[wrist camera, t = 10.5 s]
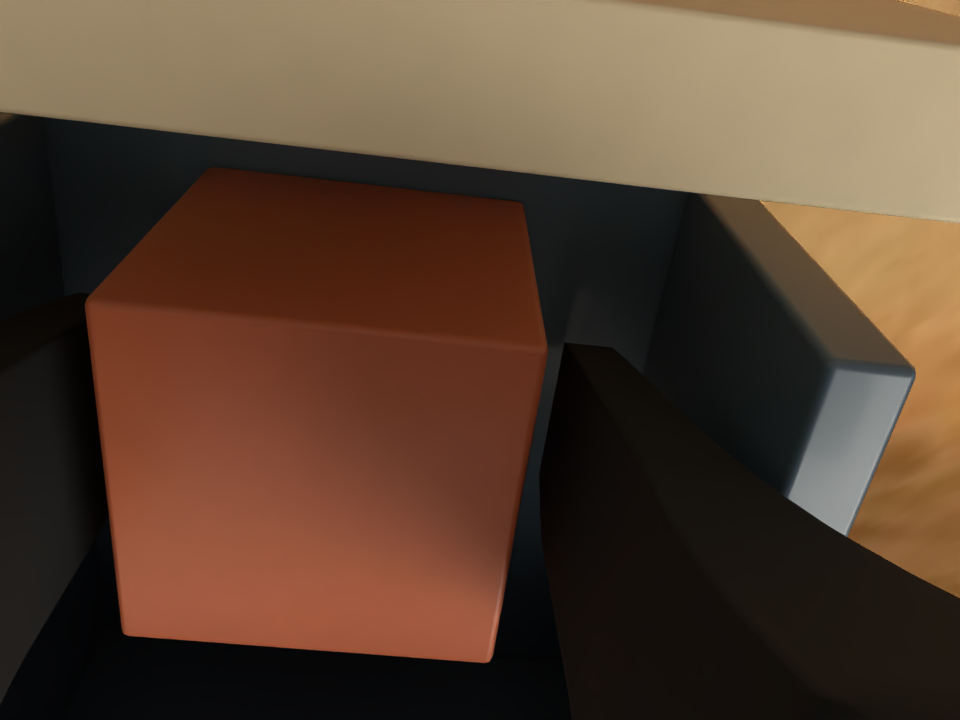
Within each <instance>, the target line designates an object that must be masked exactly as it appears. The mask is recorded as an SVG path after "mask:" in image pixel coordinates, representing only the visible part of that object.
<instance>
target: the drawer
mask: <svg viewBox="0 0 960 720" xmlns="http://www.w3.org/2000/svg"><path fill="white" fill-rule="evenodd" d="M211 167H219V168H228V169H236V170H245V171H254V172H263V173H272V174H280V175H289V176H298V177H307V178H315V179H324V180H333V181H342V182H350V183H359V184H368V185H377V186H386V187H394V188H403V189H412V190H421V191H429V192H438V193H447V194H456V195H464V196H473V197H482V198H491V199H500V200H508V201H517V202H520V203H522V204H523V207H524V212H525V218H526V224H527V230H528V236H529V241H530V247H531V253H532V259H533V265H534V270H535V276H536V282H537V288H538V294H539V299H540V305H541V311H542V317H543V323H544V328H545V334H546V340H547V346H548V357H547V363H546V368H545V373H544V379H543V384H542V390H541V395H540V401H539V406H538V412H537V417H536V423H535V428H534V434H533V439H532V445H531V450H530V456H529V461H528V467H527V472H526V477H525V483H524V488H523V494H522V499H521V505H520V510H519V516H518V521H517V527H516V532H515V538H514V543H513V549H512V554H511V560H510V565H509V570H508V576H507V581H506V587H505V592H504V598H503V603H502V609H501V614H500V620H499V625H498V631H497V636H496V642H495V647H494V653H493V656H492V658H491V660H490V661H489V662H487V663H478V662H465V661H452V660H439V659H426V658H412V657H399V656H386V655H373V654H360V653H347V652H334V651H320V650H307V649H294V648H281V647H268V646H255V645H241V644H228V643H215V642H202V641H189V640H176V639H163V638H149V637H136V636H127V635H125V634H124V633H123V632H122V626H121V617H120V609H119V600H118V591H117V582H116V574H115V565H114V556H113V548H112V539H111V530H110V521H109V516H108V518H107V519H106V521H105V523H104V525H103V526H102V528H101V530H100V531H99V533H98V535H97V537H96V538H95V540H94V542H93V543H92V545H91V547H90V549H89V550H88V552H87V554H86V555H85V557H84V559H83V560H82V562H81V564H80V565H79V567H78V569H77V570H76V572H75V574H74V575H73V577H72V579H71V580H70V582H69V584H68V585H67V587H66V589H65V590H64V592H63V594H62V595H61V597H60V599H59V600H58V602H57V604H56V605H55V607H54V609H53V610H52V612H51V614H50V615H49V617H48V619H47V620H46V622H45V624H44V625H43V627H42V629H41V630H40V632H39V634H38V635H37V637H36V639H35V641H34V642H33V644H32V646H31V647H30V649H29V651H28V652H27V654H26V656H25V658H24V660H23V661H22V663H21V665H20V667H19V669H18V671H17V673H16V674H15V676H14V678H13V680H12V682H11V684H10V686H9V688H8V690H7V692H6V694H5V696H4V698H3V700H2V702H1V705H0V720H572V719H571V712H570V704H569V696H568V690H567V684H566V678H565V673H564V667H563V661H562V656H561V650H560V644H559V639H558V633H557V628H556V622H555V616H554V611H553V605H552V599H551V594H550V588H549V582H548V576H547V570H546V565H545V559H544V553H543V546H542V540H541V519H540V491H539V471H540V466H541V461H542V456H543V451H544V445H545V440H546V435H547V430H548V425H549V419H550V414H551V409H552V404H553V399H554V393H555V388H556V383H557V378H558V373H559V367H560V362H561V357H562V352H563V347H564V342H565V343H574V344H584V345H594V346H603V347H612V348H614V349H615V350H616V351H617V352H619V353H620V354H621V355H622V356H623V357H624V358H625V359H626V360H627V361H629V362H630V363H631V364H632V365H633V366H634V367H635V368H636V369H637V370H638V371H639V372H640V373H641V374H642V375H643V376H644V377H645V378H646V379H647V380H648V381H649V382H650V383H651V384H652V385H653V386H654V387H655V388H657V389H658V390H659V391H660V392H661V393H662V394H663V395H664V396H665V397H666V398H667V399H668V400H669V401H670V402H671V403H672V404H673V405H674V406H675V407H676V408H678V409H679V410H680V411H681V412H682V413H683V414H684V415H685V416H686V417H687V418H688V419H689V420H690V421H692V422H693V423H694V424H695V425H696V426H697V427H698V428H699V429H700V430H702V431H703V432H704V433H705V434H706V435H707V436H709V437H710V438H711V439H712V440H713V441H714V442H715V443H717V444H718V445H719V446H720V447H721V448H723V449H724V450H725V451H726V452H728V453H729V454H730V455H731V456H732V457H734V458H735V459H736V460H737V461H739V462H740V463H741V464H742V465H744V466H745V467H746V468H747V469H749V470H750V471H751V472H752V473H754V474H755V475H756V476H757V477H759V478H760V479H761V480H763V481H764V482H765V483H767V484H768V485H770V486H771V487H772V488H774V489H775V490H776V491H778V492H779V493H781V494H782V495H784V496H785V497H786V498H788V499H789V500H791V501H792V502H794V503H795V504H797V505H798V506H800V507H801V508H803V509H804V510H806V511H807V512H809V513H810V514H812V515H813V516H815V517H816V518H817V519H819V520H820V521H822V522H823V523H825V524H827V525H828V526H830V527H831V528H833V529H835V530H836V531H838V532H839V533H841V534H843V535H844V536H846V537H848V534H849V532H850V530H851V527H852V525H853V523H854V520H855V518H856V516H857V513H858V511H859V509H860V506H861V504H862V502H863V499H864V497H865V494H866V492H867V490H868V487H869V485H870V483H871V480H872V478H873V476H874V473H875V471H876V469H877V466H878V464H879V462H880V459H881V457H882V455H883V452H884V450H885V448H886V445H887V443H888V441H889V438H890V436H891V434H892V431H893V429H894V427H895V424H896V422H897V420H898V417H899V415H900V413H901V410H902V408H903V406H904V403H905V401H906V399H907V396H908V394H909V392H910V389H911V387H912V385H913V382H914V380H915V375H916V371H915V368H914V367H913V366H912V365H911V364H910V362H909V361H908V360H907V359H906V358H905V357H904V356H903V355H902V354H901V353H900V352H899V351H898V350H897V348H896V347H895V346H894V345H893V344H892V343H891V342H890V341H889V340H888V339H887V338H886V337H885V336H884V334H883V333H882V332H881V331H880V330H879V329H878V328H877V327H876V326H875V325H874V324H873V323H872V322H871V321H870V319H869V318H868V317H867V316H866V315H865V314H864V313H863V312H862V311H861V310H860V309H859V308H858V307H857V305H856V304H855V303H854V302H853V301H852V300H851V299H850V298H849V297H848V296H847V295H846V294H845V293H844V292H843V290H842V289H841V288H840V287H839V286H838V285H837V284H836V283H835V282H834V281H833V280H832V279H831V278H830V276H829V275H828V274H827V273H826V272H825V271H824V270H823V269H822V268H821V267H820V266H819V265H818V264H817V262H816V261H815V260H814V259H813V258H812V257H811V256H810V255H809V254H808V253H807V252H806V251H805V250H804V249H803V247H802V246H801V245H800V244H799V243H798V242H797V241H796V240H795V239H794V238H793V237H792V236H791V235H790V233H789V232H788V231H787V230H786V229H785V228H784V227H783V226H782V225H781V224H780V223H779V222H778V221H777V219H776V218H775V217H774V216H773V215H772V214H771V213H770V212H769V211H768V210H767V209H766V208H765V207H764V206H763V204H762V203H761V202H760V201H759V200H762V201H770V202H779V203H787V204H796V205H805V206H813V207H822V208H830V209H839V210H847V211H856V212H865V213H873V214H882V215H890V216H899V217H908V218H916V219H925V220H933V221H942V222H950V223H959V224H960V17H958V16H954V15H950V14H946V13H942V12H939V11H935V10H931V9H927V8H923V7H919V6H916V5H912V4H908V3H904V2H900V1H897V0H0V320H2V319H4V318H7V317H9V316H12V315H14V314H17V313H19V312H22V311H24V310H27V309H29V308H32V307H35V306H37V305H40V304H43V303H45V302H48V301H51V300H54V299H57V298H60V297H63V296H67V295H71V294H75V293H79V292H80V293H89V294H91V293H92V292H93V291H94V290H95V289H96V288H97V287H98V286H99V285H100V284H101V283H102V282H103V281H104V280H105V278H106V277H107V276H108V275H109V274H110V273H111V272H112V271H113V270H114V269H115V268H116V267H117V266H118V265H119V263H120V262H121V261H122V260H123V259H124V258H125V257H126V256H127V255H128V254H129V253H130V252H131V251H132V249H133V248H134V247H135V246H136V245H137V244H138V243H139V242H140V241H141V240H142V239H143V238H144V237H145V236H146V234H147V233H148V232H149V231H150V230H151V229H152V228H153V227H154V226H155V225H156V224H157V223H158V222H159V221H160V219H161V218H162V217H163V216H164V215H165V214H166V213H167V212H168V211H169V210H170V209H171V208H172V207H173V206H174V204H175V203H176V202H177V201H178V200H179V199H180V198H181V197H182V196H183V195H184V194H185V193H186V192H187V190H188V189H189V188H190V187H191V186H192V185H193V184H194V183H195V182H196V181H197V180H198V179H199V178H200V177H201V175H202V174H203V173H204V172H205V171H206V170H207V169H208V168H211Z"/></svg>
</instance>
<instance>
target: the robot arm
mask: <svg viewBox="0 0 960 720" xmlns="http://www.w3.org/2000/svg"><path fill="white" fill-rule="evenodd" d="M90 295H91V294H89V293H80V292H79V293H75V294H71V295H67V296H63V297H60V298H57V299H54V300H51V301H48V302H45V303H43V304H40V305H37V306H35V307H32V308H29V309H27V310H24V311H22V312H19V313H17V314H14V315H12V316H9V317H7V318H4V319H2V320H0V705H1V702H2V700H3V698H4V696H5V694H6V692H7V690H8V688H9V686H10V684H11V682H12V680H13V678H14V676H15V674H16V673H17V671H18V669H19V667H20V665H21V663H22V661H23V660H24V658H25V656H26V654H27V652H28V651H29V649H30V647H31V646H32V644H33V642H34V641H35V639H36V637H37V635H38V634H39V632H40V630H41V629H42V627H43V625H44V624H45V622H46V620H47V619H48V617H49V615H50V614H51V612H52V610H53V609H54V607H55V605H56V604H57V602H58V600H59V599H60V597H61V595H62V594H63V592H64V590H65V589H66V587H67V585H68V584H69V582H70V580H71V579H72V577H73V575H74V574H75V572H76V570H77V569H78V567H79V565H80V564H81V562H82V560H83V559H84V557H85V555H86V554H87V552H88V550H89V549H90V547H91V545H92V543H93V542H94V540H95V538H96V537H97V535H98V533H99V531H100V530H101V528H102V526H103V525H104V523H105V521H106V519H107V518H108V516H109V513H108V504H107V495H106V486H105V478H104V469H103V460H102V452H101V443H100V434H99V425H98V417H97V408H96V399H95V391H94V382H93V373H92V364H91V356H90V347H89V338H88V329H87V321H86V312H85V302H86V300H87V298H88V297H89V296H90ZM539 491H540V519H541V540H542V546H543V553H544V559H545V565H546V570H547V576H548V582H549V588H550V594H551V599H552V605H553V611H554V616H555V622H556V628H557V633H558V639H559V644H560V650H561V656H562V661H563V667H564V673H565V678H566V684H567V690H568V696H569V704H570V712H571V719H572V720H960V598H958V597H956V596H954V595H952V594H950V593H948V592H946V591H944V590H942V589H940V588H938V587H936V586H934V585H932V584H930V583H928V582H926V581H924V580H922V579H921V578H919V577H917V576H915V575H913V574H911V573H909V572H907V571H906V570H904V569H902V568H900V567H898V566H897V565H895V564H893V563H891V562H890V561H888V560H886V559H884V558H882V557H881V556H879V555H877V554H875V553H874V552H872V551H870V550H868V549H867V548H865V547H863V546H861V545H859V544H858V543H856V542H854V541H853V540H851V539H849V538H848V537H846V536H844V535H843V534H841V533H839V532H838V531H836V530H835V529H833V528H831V527H830V526H828V525H827V524H825V523H823V522H822V521H820V520H819V519H817V518H816V517H815V516H813V515H812V514H810V513H809V512H807V511H806V510H804V509H803V508H801V507H800V506H798V505H797V504H795V503H794V502H792V501H791V500H789V499H788V498H786V497H785V496H784V495H782V494H781V493H779V492H778V491H776V490H775V489H774V488H772V487H771V486H770V485H768V484H767V483H765V482H764V481H763V480H761V479H760V478H759V477H757V476H756V475H755V474H754V473H752V472H751V471H750V470H749V469H747V468H746V467H745V466H744V465H742V464H741V463H740V462H739V461H737V460H736V459H735V458H734V457H732V456H731V455H730V454H729V453H728V452H726V451H725V450H724V449H723V448H721V447H720V446H719V445H718V444H717V443H715V442H714V441H713V440H712V439H711V438H710V437H709V436H707V435H706V434H705V433H704V432H703V431H702V430H700V429H699V428H698V427H697V426H696V425H695V424H694V423H693V422H692V421H690V420H689V419H688V418H687V417H686V416H685V415H684V414H683V413H682V412H681V411H680V410H679V409H678V408H676V407H675V406H674V405H673V404H672V403H671V402H670V401H669V400H668V399H667V398H666V397H665V396H664V395H663V394H662V393H661V392H660V391H659V390H658V389H657V388H655V387H654V386H653V385H652V384H651V383H650V382H649V381H648V380H647V379H646V378H645V377H644V376H643V375H642V374H641V373H640V372H639V371H638V370H637V369H636V368H635V367H634V366H633V365H632V364H631V363H630V362H629V361H627V360H626V359H625V358H624V357H623V356H622V355H621V354H620V353H619V352H617V351H616V350H615V349H614V348H612V347H603V346H594V345H584V344H574V343H565V342H564V347H563V352H562V357H561V362H560V367H559V373H558V378H557V383H556V388H555V393H554V399H553V404H552V409H551V414H550V419H549V425H548V430H547V435H546V440H545V445H544V451H543V456H542V461H541V466H540V471H539Z"/></svg>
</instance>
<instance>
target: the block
mask: <svg viewBox="0 0 960 720" xmlns="http://www.w3.org/2000/svg"><path fill="white" fill-rule="evenodd" d="M85 312H86V321H87V329H88V338H89V347H90V356H91V364H92V373H93V382H94V391H95V399H96V408H97V417H98V425H99V434H100V443H101V452H102V460H103V469H104V478H105V486H106V495H107V504H108V513H109V521H110V530H111V539H112V548H113V556H114V565H115V574H116V582H117V591H118V600H119V609H120V617H121V626H122V632H123V633H124V634H125V635H127V636H136V637H149V638H163V639H176V640H189V641H202V642H215V643H228V644H241V645H255V646H268V647H281V648H294V649H307V650H320V651H334V652H347V653H360V654H373V655H386V656H399V657H412V658H426V659H439V660H452V661H465V662H478V663H487V662H489V661H490V660H491V658H492V656H493V653H494V647H495V642H496V636H497V631H498V625H499V620H500V614H501V609H502V603H503V598H504V592H505V587H506V581H507V576H508V570H509V565H510V560H511V554H512V549H513V543H514V538H515V532H516V527H517V521H518V516H519V510H520V505H521V499H522V494H523V488H524V483H525V477H526V472H527V467H528V461H529V456H530V450H531V445H532V439H533V434H534V428H535V423H536V417H537V412H538V406H539V401H540V395H541V390H542V384H543V379H544V373H545V368H546V363H547V357H548V346H547V340H546V334H545V328H544V323H543V317H542V311H541V305H540V299H539V294H538V288H537V282H536V276H535V270H534V265H533V259H532V253H531V247H530V241H529V236H528V230H527V224H526V218H525V212H524V207H523V204H522V203H520V202H517V201H508V200H500V199H491V198H482V197H473V196H464V195H456V194H447V193H438V192H429V191H421V190H412V189H403V188H394V187H386V186H377V185H368V184H359V183H350V182H342V181H333V180H324V179H315V178H307V177H298V176H289V175H280V174H272V173H263V172H254V171H245V170H236V169H228V168H219V167H211V168H208V169H207V170H206V171H205V172H204V173H203V174H202V175H201V177H200V178H199V179H198V180H197V181H196V182H195V183H194V184H193V185H192V186H191V187H190V188H189V189H188V190H187V192H186V193H185V194H184V195H183V196H182V197H181V198H180V199H179V200H178V201H177V202H176V203H175V204H174V206H173V207H172V208H171V209H170V210H169V211H168V212H167V213H166V214H165V215H164V216H163V217H162V218H161V219H160V221H159V222H158V223H157V224H156V225H155V226H154V227H153V228H152V229H151V230H150V231H149V232H148V233H147V234H146V236H145V237H144V238H143V239H142V240H141V241H140V242H139V243H138V244H137V245H136V246H135V247H134V248H133V249H132V251H131V252H130V253H129V254H128V255H127V256H126V257H125V258H124V259H123V260H122V261H121V262H120V263H119V265H118V266H117V267H116V268H115V269H114V270H113V271H112V272H111V273H110V274H109V275H108V276H107V277H106V278H105V280H104V281H103V282H102V283H101V284H100V285H99V286H98V287H97V288H96V289H95V290H94V291H93V292H92V293H91V295H90V296H89V297H88V298H87V300H86V302H85Z"/></svg>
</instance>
